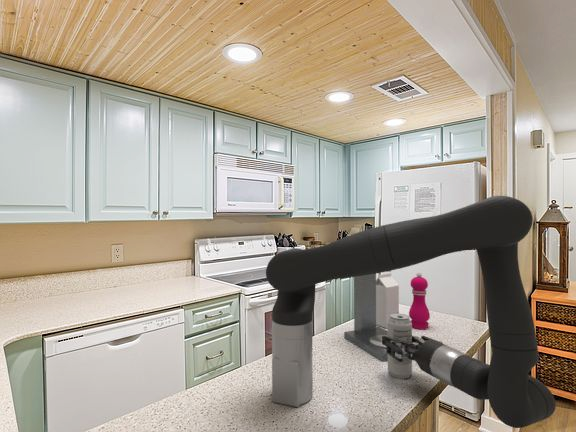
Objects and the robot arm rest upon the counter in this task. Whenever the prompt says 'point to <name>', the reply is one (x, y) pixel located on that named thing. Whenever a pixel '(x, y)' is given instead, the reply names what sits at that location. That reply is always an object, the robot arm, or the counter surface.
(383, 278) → the milk carton
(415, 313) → the pepper mill
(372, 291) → the arbor press
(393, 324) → the energy drink can
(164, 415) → the counter surface
